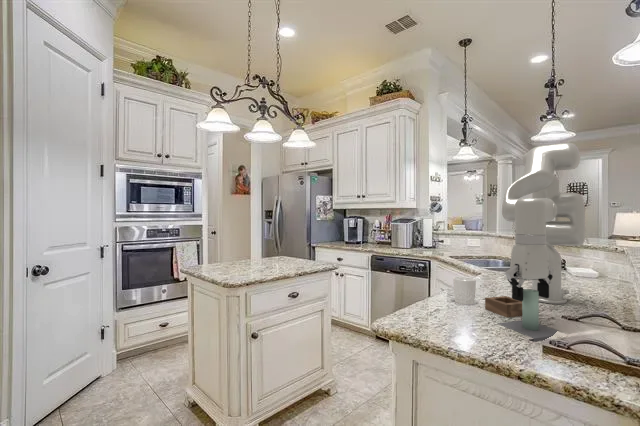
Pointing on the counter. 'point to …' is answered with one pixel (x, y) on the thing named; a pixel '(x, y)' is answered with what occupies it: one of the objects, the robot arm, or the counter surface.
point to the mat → (538, 335)
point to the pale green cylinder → (530, 309)
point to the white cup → (464, 290)
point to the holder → (504, 306)
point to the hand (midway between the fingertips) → (530, 298)
